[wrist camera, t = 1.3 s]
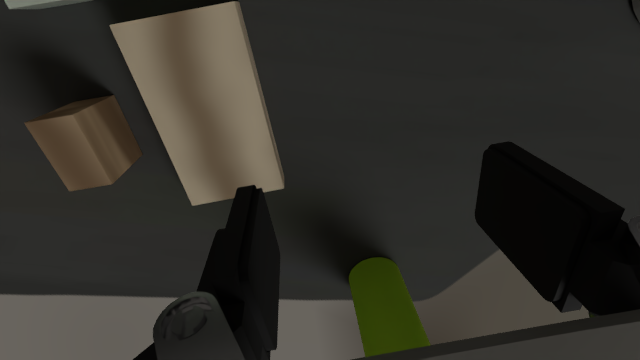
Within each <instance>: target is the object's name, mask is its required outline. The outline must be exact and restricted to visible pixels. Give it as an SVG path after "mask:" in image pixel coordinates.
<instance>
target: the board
mask: <svg viewBox="0 0 640 360" xmlns="http://www.w3.org/2000/svg"><path fill="white" fill-rule="evenodd" d="M109 26H110V28H111V30H112V32H113V35H114V37H115V39H116V41H117V43H118V45H119V48H120V50H121V52H122V54H123V56H124V58H125V61H126V63H127V65H128V67H129V69H130V71H131V74H132V76H133V78H134V80H135V82H136V84H137V87H138V89H139V91H140V93H141V95H142V97H143V100H144V102H145V104H146V106H147V108H148V110H149V113H150V115H151V117H152V119H153V121H154V123H155V126H156V128H157V130H158V132H159V134H160V136H161V139H162V141H163V143H164V145H165V147H166V149H167V152H168V154H169V156H170V158H171V160H172V162H173V165H174V167H175V169H176V171H177V173H178V175H179V178H180V180H181V182H182V184H183V186H184V188H185V191H186V193H187V195H188V197H189V199H190V201H191V204H192V206H194V205H199V204H204V203H210V202H215V201H220V200H226V199H231V198H234V197H235V194H236V190H237V188H238V187H244V186H250V185H255V186H256V188H262V190H263V192H268V191H273V190H279V189H284V174H283V170H282V166H281V162H280V159H279V155H278V151H277V147H276V143H275V139H274V135H273V132H272V128H271V124H270V120H269V116H268V112H267V108H266V105H265V101H264V97H263V93H262V89H261V85H260V81H259V77H258V74H257V70H256V66H255V62H254V58H253V54H252V50H251V47H250V43H249V39H248V35H247V31H246V27H245V23H244V19H243V16H242V12H241V8H240V4H239V2H236V1H232V2H227V3H222V4H217V5H212V6H206V7H201V8H196V9H191V10H186V11H180V12H175V13H170V14H165V15H159V16H154V17H149V18H144V19H139V20H133V21H128V22H123V23H118V24H112V25H109Z"/></svg>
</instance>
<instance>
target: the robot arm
mask: <svg viewBox="0 0 640 360" xmlns="http://www.w3.org/2000/svg"><path fill="white" fill-rule="evenodd" d="M632 4H633V10H634V13H635V15H636V17H637V19H638V21H639V23H640V0H632ZM624 210H625V209H624V208H622V207H621V206H619V205H617V204H616V203H614V202H612V201H611V200H609V199H607V198H605V197H604V196H602V195H600V194H599V193H597V192H595V191H594V190H592V189H590V188H588V187H587V186H585V185H583V184H582V183H580V182H578V181H577V180H575V179H573V178H572V177H570V176H568V175H566V174H565V173H563V172H561V171H560V170H558V169H556V168H555V167H553V166H551V165H549V164H548V163H546V162H544V161H543V160H541V159H539V158H538V157H536V156H534V155H533V154H531V153H529V152H527V151H526V150H524V149H522V148H521V147H519V146H517V145H516V144H514V143H512V142H503V143H497V144H491V145H490V146H489V148H488V149H487V150H485V151H484V154H483V160H482V167H481V174H480V181H479V188H478V195H477V202H476V209H475V219H476V222H477V223H478V225H479V226H480V227H481V228H482V229H483V230H484V232H485V233H486V234H487V235H488V236H489V237H490V238H491V239H492V241H493V242H494V243H495V244H496V245H497V246H498V247H499V248H500V250H501V251H502V252H503V253H504V254H505V255H506V256H507V258H508V259H509V260H510V261H511V262H512V263H513V264H514V265H515V267H516V268H517V269H518V270H519V271H520V272H521V273H522V274H523V276H524V277H525V278H526V279H527V280H528V281H529V282H530V283H531V284H532V286H533V287H534V288H535V289H536V290H537V291H538V293H539V294H540V295H541V296H542V297H543V298H544V299H545V300H547V301H550V302H552V303H553V304H554V305H555V306H556V307H557V309H558V310H559V311H560V312H562V313H563V312H568V311H574V310H580V309H581V307H582V305H583V306H584V307H585V308H586V309H587V310H588V311H589V317H590V318H585V319H579V320H573V321H567V322H562V323H556V324H550V325H545V326H539V327H533V328H527V329H521V330H516V331H510V332H505V333H498V334H493V335H487V336H481V337H476V338H470V339H464V340H458V341H453V342H447V343H441V344H435V345H430V346H424V347H419V348H413V349H407V350H402V351H396V352H391V353H385V354H380V355H374V356H369V357H363V358H358V359H352V360H640V216H636V217H634V218H631V219H630V220H629V222H628V223H626V222H624V221H623V220H621V217H622V215H623V212H624ZM279 276H280V251H279V246H278V243H277V239H276V236H275V232H274V229H273V225H272V221H271V218H270V214H269V211H268V207H267V204H266V200H265V197H264V193H263V190H262V188H256V186H255V185H250V186H244V187H238V188H237V190H236V194H235V197H234V201H233V204H232V207H231V211H230V214H229V218H228V221H227V224H226V228H224V229H219V230H218V231H217V232H216V234H215V237H214V240H213V243H212V246H211V249H210V252H209V255H208V258H207V262H206V265H205V268H204V271H203V274H202V277H201V280H200V283H199V286H198V289H197V292H193V293H189V294H186V295H184V296H182V297H180V298H178V299H177V300H175V301H174V302H172V303H171V304H170V305H168V306H167V307H166V309H164V310H163V311H162V313H161V314H160V316H159V317H158V319H157V320H156V323H155V325H154V328H153V339H154V343H153V344H151V345H150V346H149V347H148V348H147V349H145V350H144V351H143V352H142V353H140V354H139V355H138V356H137V357H136V358H134V359H133V360H270V351H271V350H276V348H277V331H278V302H279Z"/></svg>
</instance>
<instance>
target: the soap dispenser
mask: <svg viewBox="0 0 640 360" xmlns="http://www.w3.org/2000/svg"><path fill="white" fill-rule="evenodd" d="M349 284H350V288H351V293H352V297H353V302H354V307H355V311H356V316H357V320H358V325H359V329H360V334H361V339H362V343H363V348H364V352H365V357H369V356H374V355H380V354H385V353H391V352H396V351H402V350H407V349H413V348H419V347H424V346H430V342H429V340H428V338H427V335H426V333H425V331H424V328H423V326H422V324H421V321H420V319H419V316H418V314H417V312H416V309H415V307H414V304H413V302H412V300H411V297H410V295H409V293H408V290H407V288H406V285H405V283H404V281H403V278H402V276H401V274H400V271H399V269H398V267H397V265H396V264H395V263H394V262H393V261H392V260H390V259H387V258H383V257H374V258H369V259H366V260H363V261H361V262H360V263H358V264H357V265H356V266H355V267H354V268H353V269H352V270H351V272H350V274H349Z"/></svg>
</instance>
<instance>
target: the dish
mask: <svg viewBox="0 0 640 360" xmlns="http://www.w3.org/2000/svg"><path fill="white" fill-rule="evenodd" d="M4 1H5V2H6V4H7V6H8V8H9V9H44V8H50V7H56V6H62V5H68V4H74V3H80V2H86V1H92V0H4Z"/></svg>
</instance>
